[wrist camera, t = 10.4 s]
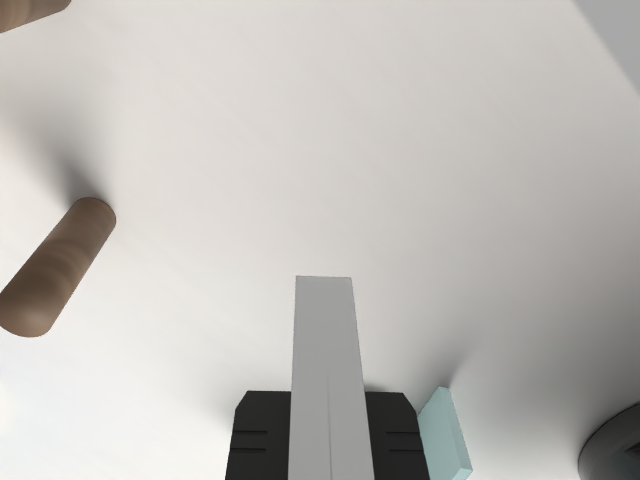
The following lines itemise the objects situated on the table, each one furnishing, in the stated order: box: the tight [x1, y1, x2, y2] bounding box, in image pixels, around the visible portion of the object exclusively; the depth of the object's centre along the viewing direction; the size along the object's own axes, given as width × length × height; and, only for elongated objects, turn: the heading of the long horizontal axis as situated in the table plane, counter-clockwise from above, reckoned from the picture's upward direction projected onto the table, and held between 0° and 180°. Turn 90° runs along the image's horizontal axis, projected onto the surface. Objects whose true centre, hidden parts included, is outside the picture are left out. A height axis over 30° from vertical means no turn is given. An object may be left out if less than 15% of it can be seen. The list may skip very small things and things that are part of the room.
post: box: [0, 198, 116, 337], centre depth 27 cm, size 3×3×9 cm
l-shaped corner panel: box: [417, 386, 473, 480], centre depth 38 cm, size 12×12×8 cm
